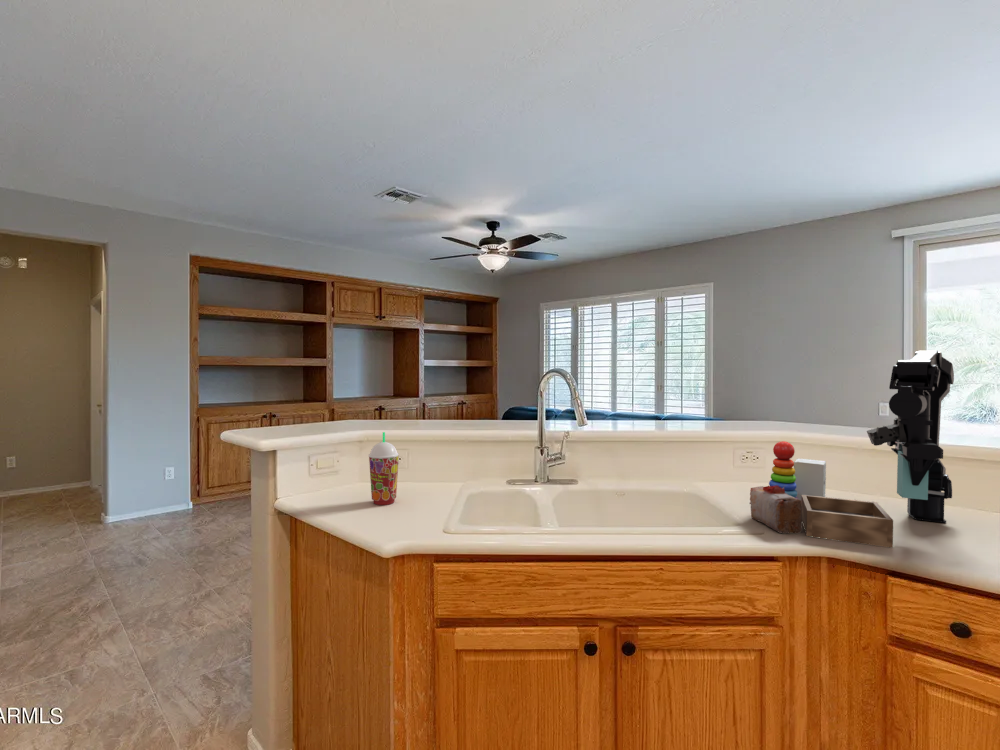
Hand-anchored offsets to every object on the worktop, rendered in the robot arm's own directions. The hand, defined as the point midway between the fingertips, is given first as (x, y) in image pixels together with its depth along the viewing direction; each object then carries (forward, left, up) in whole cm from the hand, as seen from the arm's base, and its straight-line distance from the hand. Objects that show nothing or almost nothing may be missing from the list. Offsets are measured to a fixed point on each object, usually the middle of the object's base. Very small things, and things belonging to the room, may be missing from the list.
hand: (912, 483), depth 117 cm
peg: (0, 0, -3) cm, 3 cm away
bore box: (+13, +2, -12) cm, 18 cm away
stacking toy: (+25, -12, -13) cm, 31 cm away
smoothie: (+126, +31, -13) cm, 131 cm away
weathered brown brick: (+28, +3, -13) cm, 31 cm away
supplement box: (+18, -20, -13) cm, 30 cm away
